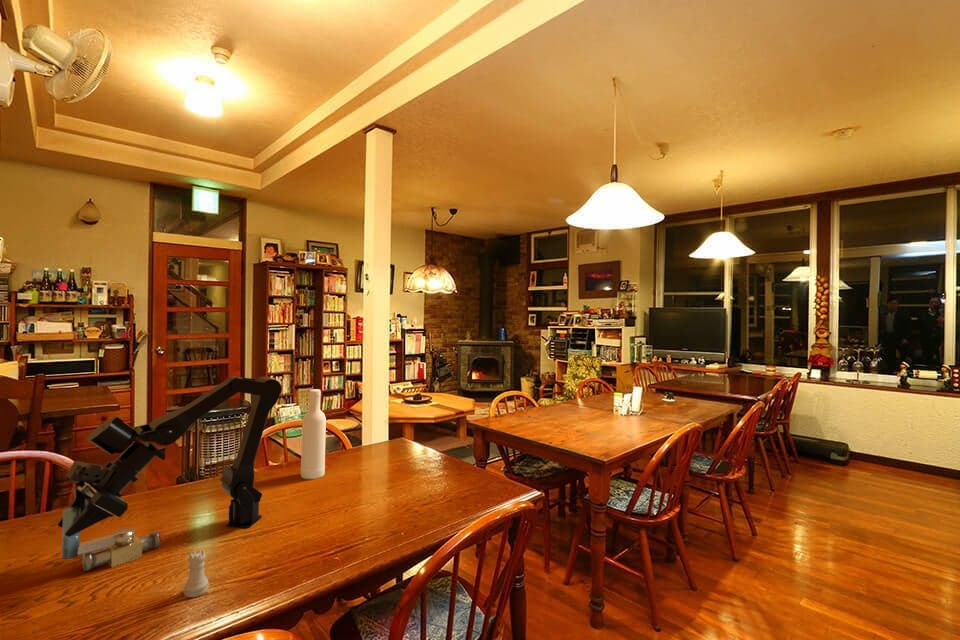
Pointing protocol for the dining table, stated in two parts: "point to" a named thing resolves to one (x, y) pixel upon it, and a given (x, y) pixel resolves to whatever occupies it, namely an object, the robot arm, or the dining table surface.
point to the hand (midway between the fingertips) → (63, 530)
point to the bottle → (313, 439)
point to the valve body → (121, 552)
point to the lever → (74, 547)
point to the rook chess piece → (196, 575)
